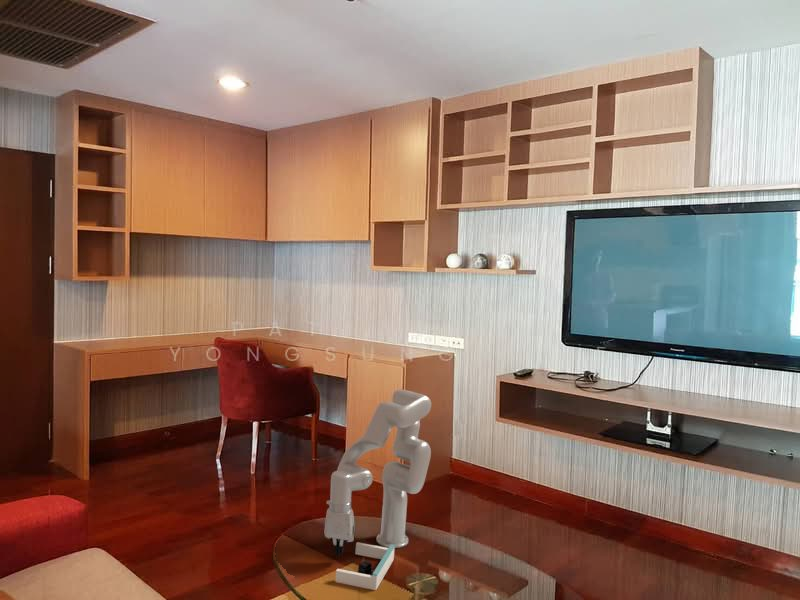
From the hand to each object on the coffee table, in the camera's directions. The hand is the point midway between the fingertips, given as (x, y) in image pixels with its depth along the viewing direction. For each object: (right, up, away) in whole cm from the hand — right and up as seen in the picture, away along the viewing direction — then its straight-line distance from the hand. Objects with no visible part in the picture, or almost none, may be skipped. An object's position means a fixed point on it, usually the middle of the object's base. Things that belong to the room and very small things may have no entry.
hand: (338, 554), depth 224 cm
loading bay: (+11, -4, -3) cm, 12 cm away
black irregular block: (+10, -5, -6) cm, 12 cm away
